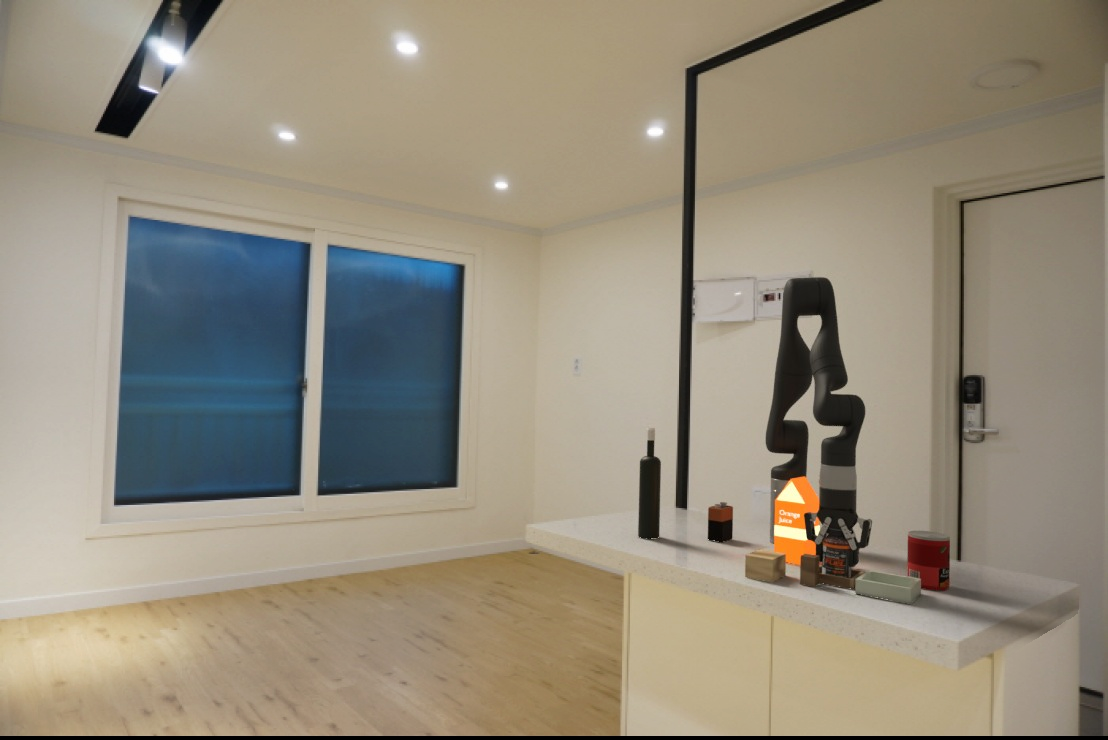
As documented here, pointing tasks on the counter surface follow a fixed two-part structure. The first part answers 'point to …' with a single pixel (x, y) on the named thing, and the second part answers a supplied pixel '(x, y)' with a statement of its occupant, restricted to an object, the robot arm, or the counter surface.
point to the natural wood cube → (765, 565)
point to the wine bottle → (649, 491)
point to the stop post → (809, 569)
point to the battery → (720, 522)
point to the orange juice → (795, 520)
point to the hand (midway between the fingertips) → (836, 563)
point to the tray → (888, 586)
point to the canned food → (929, 559)
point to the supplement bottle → (836, 554)
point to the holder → (840, 578)
